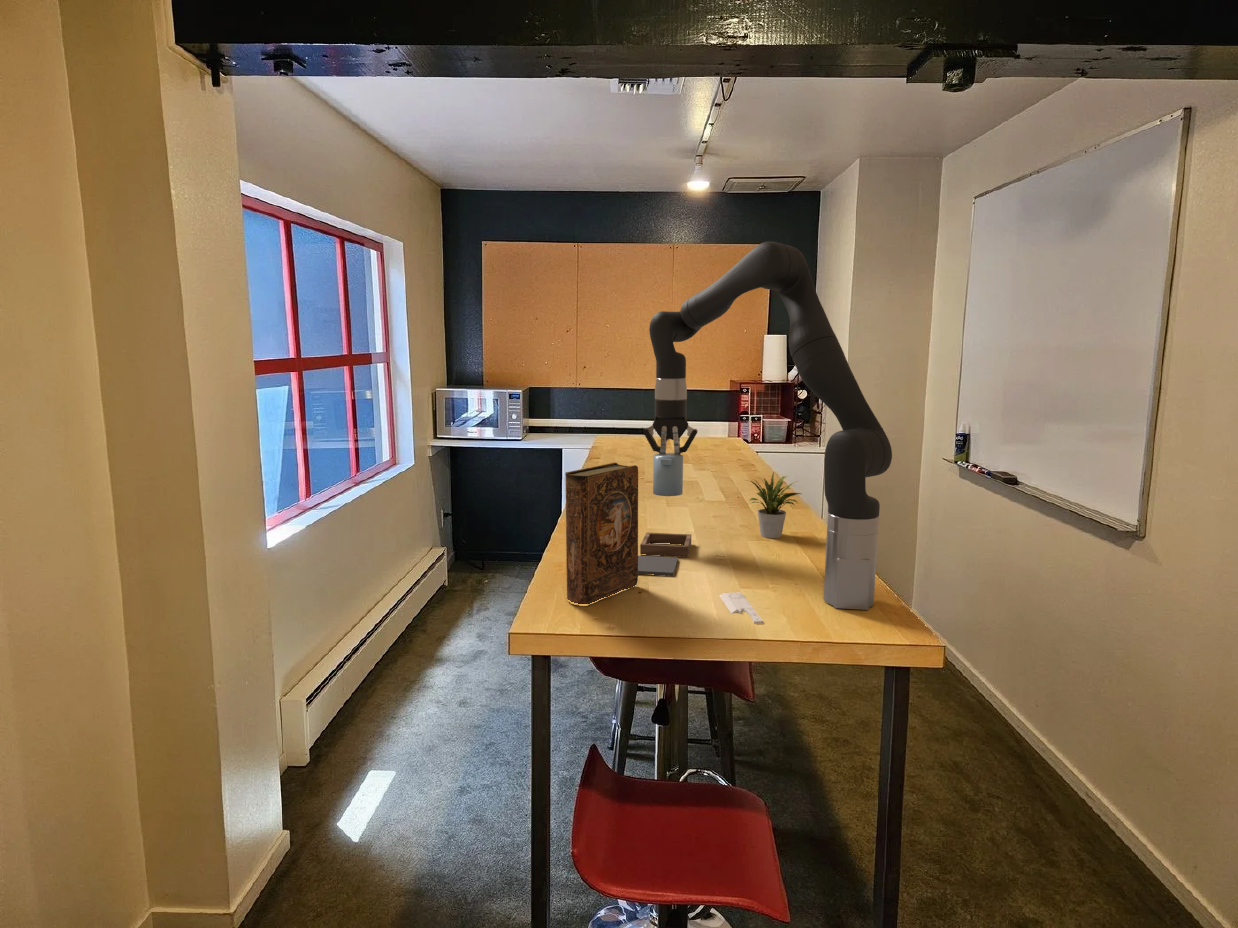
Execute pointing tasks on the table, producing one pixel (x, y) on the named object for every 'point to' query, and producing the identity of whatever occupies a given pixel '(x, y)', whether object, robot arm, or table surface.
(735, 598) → the white plastic strip tool
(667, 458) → the jug
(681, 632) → the table surface
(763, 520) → the house plant
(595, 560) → the book
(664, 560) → the mat
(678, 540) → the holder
